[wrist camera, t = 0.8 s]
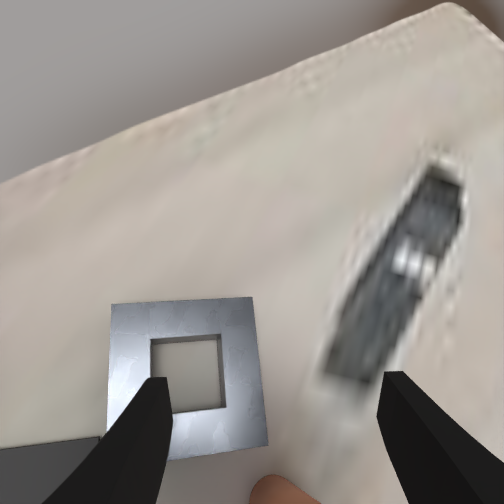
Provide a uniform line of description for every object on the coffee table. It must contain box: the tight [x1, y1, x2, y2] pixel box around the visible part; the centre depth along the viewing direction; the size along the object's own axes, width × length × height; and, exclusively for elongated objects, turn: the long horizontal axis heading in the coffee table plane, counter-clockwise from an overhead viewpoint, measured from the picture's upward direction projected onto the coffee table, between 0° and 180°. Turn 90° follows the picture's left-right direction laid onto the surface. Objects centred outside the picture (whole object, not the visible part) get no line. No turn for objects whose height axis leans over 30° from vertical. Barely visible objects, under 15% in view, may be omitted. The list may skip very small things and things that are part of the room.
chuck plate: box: [107, 297, 268, 461], centre depth 23 cm, size 9×9×2 cm
